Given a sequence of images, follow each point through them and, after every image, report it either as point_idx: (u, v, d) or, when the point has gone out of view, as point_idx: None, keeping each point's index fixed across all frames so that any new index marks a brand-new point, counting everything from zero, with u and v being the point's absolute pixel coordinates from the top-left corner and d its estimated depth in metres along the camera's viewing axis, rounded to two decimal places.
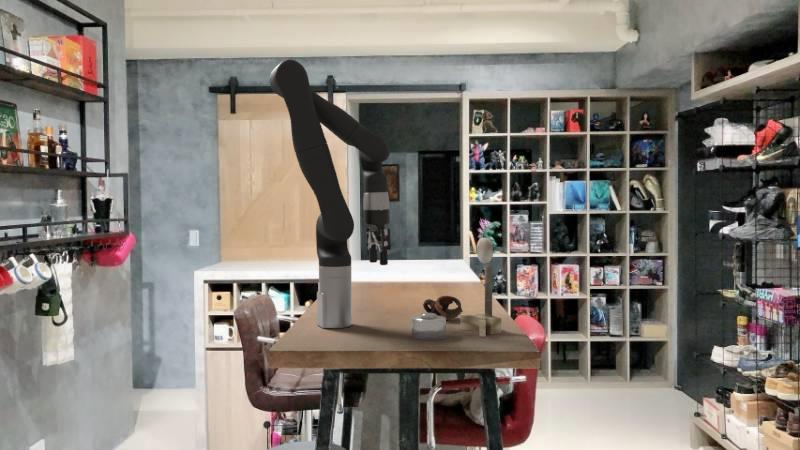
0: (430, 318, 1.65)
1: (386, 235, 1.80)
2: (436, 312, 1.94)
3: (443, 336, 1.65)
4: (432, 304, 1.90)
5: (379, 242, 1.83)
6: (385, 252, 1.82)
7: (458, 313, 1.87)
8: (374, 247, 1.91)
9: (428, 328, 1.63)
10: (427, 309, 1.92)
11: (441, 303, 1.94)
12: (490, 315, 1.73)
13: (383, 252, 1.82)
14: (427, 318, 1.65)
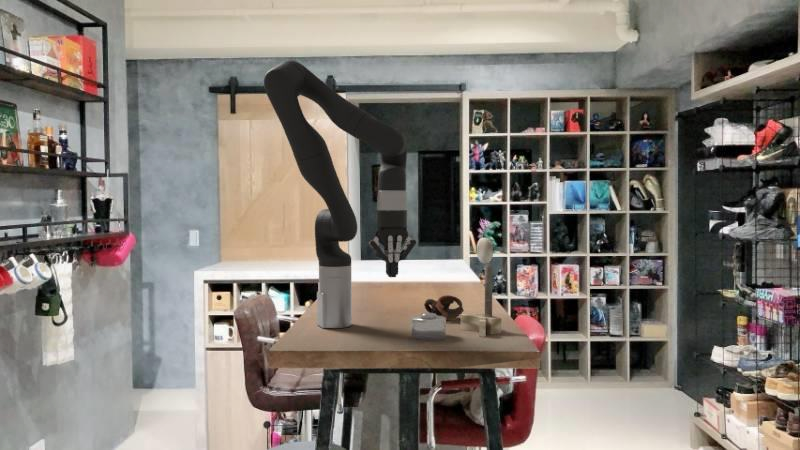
0: (430, 318, 1.65)
1: None
2: (437, 312, 1.94)
3: (443, 336, 1.65)
4: (433, 304, 1.91)
5: None
6: None
7: (459, 313, 1.88)
8: None
9: (428, 328, 1.63)
10: (428, 309, 1.93)
11: (442, 303, 1.94)
12: (490, 315, 1.73)
13: None
14: (427, 318, 1.65)
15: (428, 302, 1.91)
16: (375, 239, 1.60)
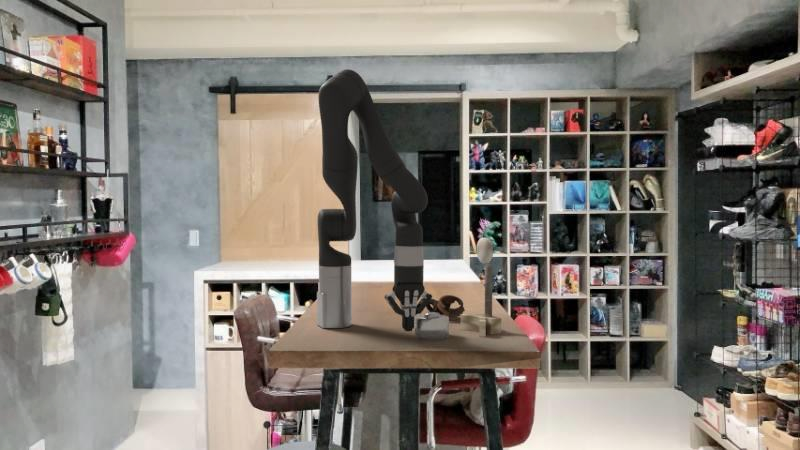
0: (433, 317, 1.65)
1: None
2: (438, 311, 1.95)
3: (446, 335, 1.65)
4: (434, 303, 1.91)
5: None
6: None
7: (461, 313, 1.88)
8: None
9: (431, 327, 1.63)
10: (429, 308, 1.93)
11: (443, 302, 1.95)
12: (490, 315, 1.73)
13: None
14: (430, 317, 1.65)
15: (429, 302, 1.92)
16: (392, 294, 1.62)
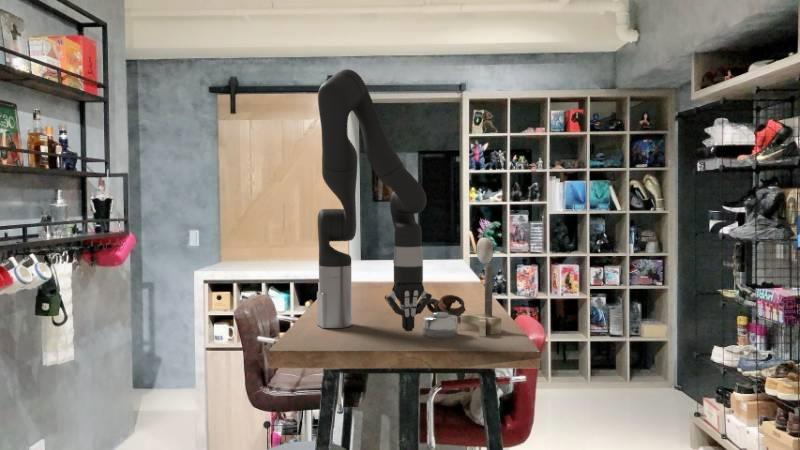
0: (442, 317, 1.67)
1: None
2: (439, 311, 1.95)
3: (455, 335, 1.66)
4: (435, 303, 1.92)
5: None
6: None
7: (462, 312, 1.89)
8: None
9: (440, 327, 1.64)
10: (430, 308, 1.94)
11: (444, 302, 1.95)
12: (490, 315, 1.73)
13: None
14: (439, 317, 1.67)
15: (430, 301, 1.92)
16: (392, 294, 1.62)
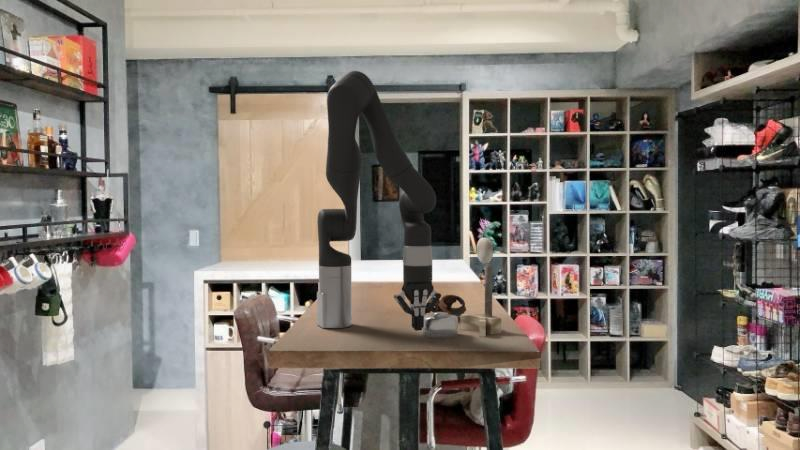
0: (442, 317, 1.67)
1: None
2: (440, 311, 1.96)
3: (455, 335, 1.66)
4: (436, 303, 1.92)
5: None
6: None
7: (462, 312, 1.89)
8: None
9: (440, 327, 1.64)
10: None
11: (445, 302, 1.96)
12: (490, 315, 1.73)
13: None
14: (439, 317, 1.67)
15: None
16: (401, 293, 1.63)
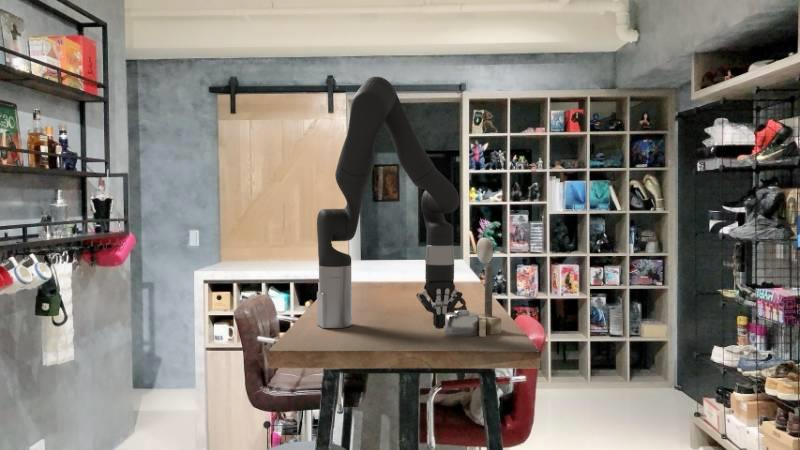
0: (463, 315, 1.69)
1: None
2: None
3: (476, 332, 1.69)
4: None
5: None
6: None
7: None
8: None
9: (462, 324, 1.67)
10: None
11: None
12: (490, 315, 1.73)
13: None
14: (460, 315, 1.69)
15: None
16: (424, 292, 1.66)
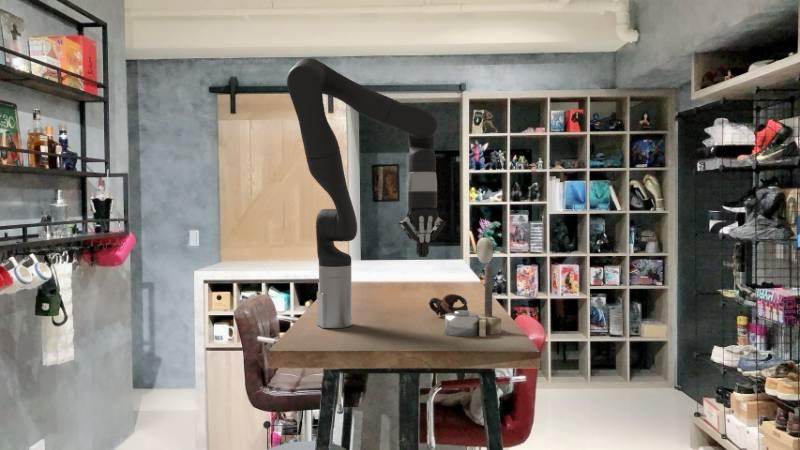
0: (463, 315, 1.69)
1: None
2: (441, 310, 1.97)
3: (476, 333, 1.69)
4: (438, 302, 1.93)
5: None
6: None
7: None
8: None
9: (462, 325, 1.67)
10: (433, 307, 1.95)
11: (446, 301, 1.97)
12: (490, 315, 1.73)
13: None
14: (460, 315, 1.69)
15: (433, 301, 1.94)
16: (406, 220, 1.64)
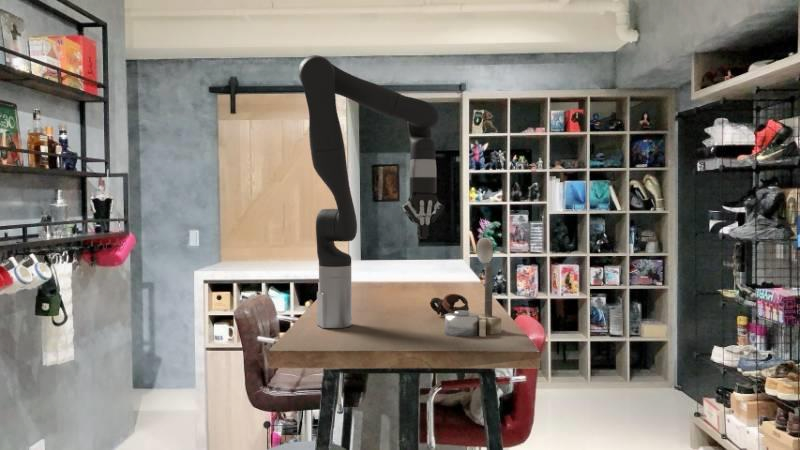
0: (463, 315, 1.69)
1: None
2: (442, 310, 1.97)
3: (476, 333, 1.69)
4: (439, 302, 1.94)
5: None
6: None
7: None
8: None
9: (462, 325, 1.67)
10: (434, 307, 1.95)
11: (447, 301, 1.97)
12: (490, 315, 1.73)
13: None
14: (460, 315, 1.69)
15: (434, 300, 1.94)
16: (408, 203, 1.76)
